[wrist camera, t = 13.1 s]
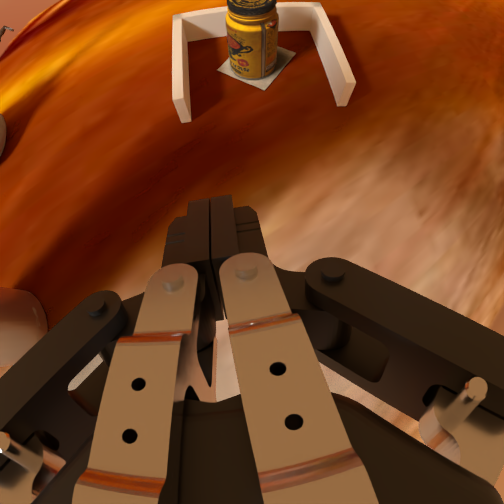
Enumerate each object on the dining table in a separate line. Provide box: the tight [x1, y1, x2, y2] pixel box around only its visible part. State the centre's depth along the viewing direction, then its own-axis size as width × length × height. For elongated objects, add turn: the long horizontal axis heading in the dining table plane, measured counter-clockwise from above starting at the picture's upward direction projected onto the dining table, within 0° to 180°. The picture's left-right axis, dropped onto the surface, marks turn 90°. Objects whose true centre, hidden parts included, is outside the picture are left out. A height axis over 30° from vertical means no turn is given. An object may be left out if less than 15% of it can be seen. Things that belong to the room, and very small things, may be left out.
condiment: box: [217, 0, 296, 91], centre depth 31 cm, size 7×8×12 cm
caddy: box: [172, 2, 356, 123], centre depth 35 cm, size 20×16×5 cm
